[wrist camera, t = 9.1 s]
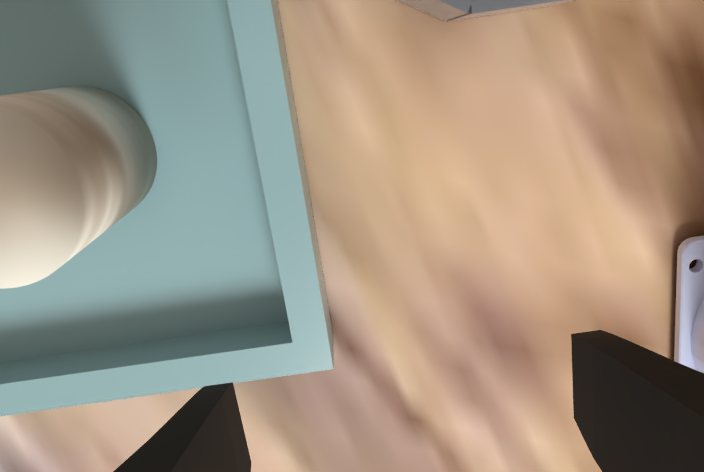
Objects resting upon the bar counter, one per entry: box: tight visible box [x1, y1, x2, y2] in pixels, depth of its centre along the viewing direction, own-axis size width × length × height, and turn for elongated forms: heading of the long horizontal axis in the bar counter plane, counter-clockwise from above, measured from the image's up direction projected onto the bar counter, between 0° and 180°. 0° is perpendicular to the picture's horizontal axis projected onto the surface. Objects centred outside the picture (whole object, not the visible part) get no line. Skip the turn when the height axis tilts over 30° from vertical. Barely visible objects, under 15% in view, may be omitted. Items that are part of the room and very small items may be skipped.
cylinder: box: [0, 86, 157, 289], centre depth 16 cm, size 4×4×6 cm
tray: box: [0, 0, 333, 416], centre depth 19 cm, size 16×18×2 cm
